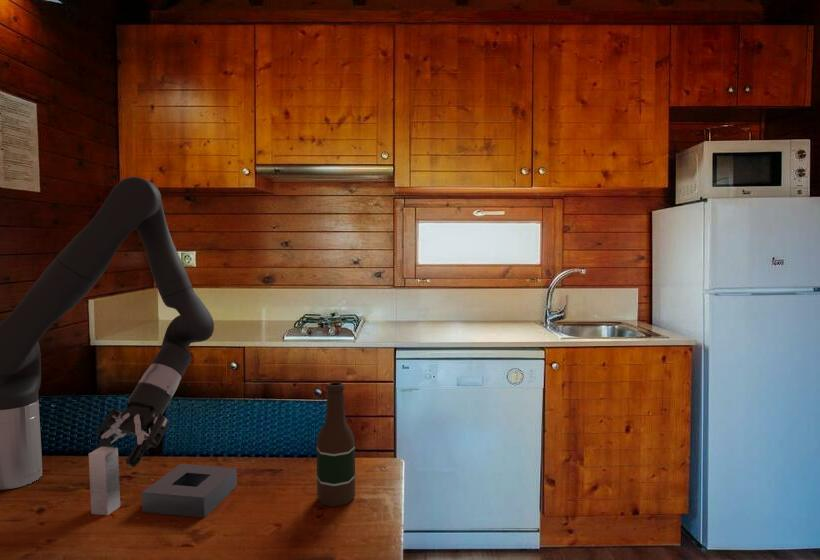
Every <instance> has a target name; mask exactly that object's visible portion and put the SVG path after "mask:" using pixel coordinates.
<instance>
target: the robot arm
mask: <svg viewBox="0 0 820 560" xmlns="http://www.w3.org/2000/svg"><path fill="white" fill-rule="evenodd" d="M134 230H136V232H137V234H138V236H139V237H140V240H141V242H142V245H143V248H144V251H145V253H146V254H145V255H146V257H147V261H148V264H149V265H148V266H149V268H150V272H151V275H152V278H153V281H154V283H155V285H156V286H155V287H156V288H157V291H158V293H159V295H160V298H161V300H162V302H163V303H164V305H165V306H166V307H167V308H169V309H170V308H171V309H174V310H175V311H176V312H177V313H178V315H177V316H175V317H174V318H173V319H172V320H171V321H170V323H169V324H168V326H167V327H166V330H165V333H164V337H163V339H162V342H161V347H160V350H159V351H158V353H157V354H156V356H155V357H154V358H153V361H152V362H151V364H150V365H149V367H148V368H147V369H146V371H145V372H144V373H143V374H142V377H141V379H139V381H138V383H137V385H136V386H135V387H134V389H133V391H132V393H131V394H130V396H129V397H128V399H127V407H126V408H125V409H124V411H120V410H118V409H116V408H112V409H111V411H109V413H108V415H107V416H106V418H105V419H104V421H103V422H102V424H101V425H100V426H99V427H98V429H97V431H96V433H95V434H96V435H97V436H98V437H100V441H99V442H98V445H96V447H95V449H94V450H96V449H98V448H100V447H112V445H113V443H114V442H115V441H117V440H118V439H119V438H124V437H125V436H126V435H128V436H132V435H133V436H135V437H136V439H137V440H136V443H137V444H135V445H134V446H133V448H132V450H131V451H130V453H129V455H128V457H127V459H126V460H125V464H126V466H127V465H128V467H131V468H135V467H136V466H137V465H138V464H139V463H140V461H141V459H142V458H143V456H144V454H145V453H146V450H149V449H150V448H154V449H155V448H157V447H159V445H160V443H161V441H162V438H163V437H164V435H165V433H166V430H167V428H168V426H169V424H170V420H169V419H167V417H165V416H164V415H163V414H164V413H165V411H166V409H167V407H168V405H169V404H170V402H171V399H172V398H173V396H174V395H175V393H176V391H177V389H178V387H179V385H180V382H181V380H182V378H183V376H184V374H185V373H186V370H187V368H188V367H189V365H190V363H191V360H192V355H191V352H190V351H189V350H188V348H189V347H190V345H191V344H193V343H202V342H205V341H207V340H209V339H210V338H211V337H212V336H213V333H214V332H215V331H214V330H215V325H214V323H215V322H214V319H213V316H212V314H211V312H210V311H209V309H208V308H207V307H206V305H205V303H204V302H203V301H202V300H201V298H200V297H199V296H198V295H197V293H196V292H195V290H194V288H193V285H192V283H191V280H190V278H189V276H188V273H187V271H186V268H185V266H184V263H183V262H182V259H181V257H180V254H179V253H178V251H177V248H176V246H175V243H174V241H173V239H172V236H171V233H170V230H169V227H168V222H167V220H166V216H165V211H164V207H163V201H162V194H161V192H160V189H159V188H158V187H157V185H155V184H154V183H153V182H152V181H150V180H148V179H145V178H144V177H138V176H131V177H130V176H129V177H125V178H123V179H121V180H120V181H118V183H116V184H115V185H114V186H113V188H112V190H111V191H110V193H109V194H108V195H107V198H106V199H105V201H104V202H103V204H101V206H100V208H99V209H98V211H97V212H96V214H94V216H93V218H92V219H91V220H90V221H89V222H88V224H87V225H86V226H84V227H83V228H82V229H81V231H79V232H78V233H77V234H76V235H75V236H74V237H73V238H72V240H70V242H68V244H67V245H66V246H64V248H63V249H62V250H60V252H59V253H58V254H57V255H56V256H55V258H54V259H53V260H52V261H51V262H50V263H49V264H48V266H47V267H46V268H45V269H44V271H43V272H42V274H41V275H40V276H39V277H38V278H37V280H36V281H35V282H34V283H33V284H32V286H31V287H30V288H29V289H28V291H27V292H26V293H25V294H24V297H23V298H22V299H21V301H20V302H19V303H18V304H17V305H16V307H15V308H14V309H13V310H12V312H10V314H9V315H7V317H6V318H5V319H3V320H2V322H0V490H11V489H17V488H21V487H25V486H27V484H28V485H30V484H33V483H35V482H37V481H38V480H39V478H40V477H41V476H43V474H42V473H43V459H42V458H43V456H42V441H41V440H42V439H41V438H42V437H41V436H42V435H41V424H40V423H41V421H40V420H41V419H40V404H39V402H40V401H39V390H40V388H41V382H42V365H41V364H42V363H41V361H42V359H41V358H42V357H41V356H42V355H41V354H42V353H41V347H40V343H39V341H40V339H42V337H43V336H44V335H45V333H46V332H47V331H48V330H49V329H50V328H51V327H52V326H53V325H54V324H55V323H56V322H58V321H59V320H60V319H61V318H62V317H64V316H65V315H66V314H67V313H68V312H70V311H71V310H72V309H73V308H74V307H75V306H77V304H78V303H80V302H81V300H82V299H84V298H85V297H86V296H87V295H88V293H89V292H90V291H91V290H92V288H94V286H95V285H96V284H97V283H98V282H99V280H100V279H101V277H102V276H103V275H104V273H105V272H106V270H107V268H108V267H109V265H110V264H111V262H112V260H113V259H114V257H115V255H116V253H117V252H118V249H119V248H120V246H121V244H122V243H123V242H124V241H125V240H126V238H128V237H129V235H130V234H131V233H132V232H133V231H134ZM105 430H106V431H105ZM41 478H42V477H41ZM41 478H40V479H41ZM36 480H37V481H36ZM34 481H35V482H34ZM32 482H33V483H32Z"/></svg>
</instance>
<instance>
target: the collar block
mask: <svg viewBox="0 0 820 560" xmlns="http://www.w3.org/2000/svg"><path fill="white" fill-rule="evenodd" d="M237 473H238V472H237V468H236V467H225V466H213V465H212V466H211V465H201V464H189V463H188V464H186V463H180V464H178V465H176V467H174V468H173V469H171V470H169V472H167V473H166V474H165V475H163V476H162V477H160V478H159V479H158V480H156V481H155V482H153V483H152V484H151V485H149V486H148V487H147V488H145V489H144V490H143V491H141V506H142V512H143V513H149V514H150V513H151V514H152V513H153V514H159V515H160V514H161V515H170V516H171V515H173V516H182V517H183V516H184V517H193V518H206V517H207V516H208V515H209V514H210V513H211V512H212V511H214V509H216V507H217V506H219V504H220V503H222V501H223V500H225V498H227V497H228V495H230V494H231V491H232V490H233V489H234V488H235V487H236V486H237V487H238V475H237ZM237 487H236V488H237ZM236 488H235V489H236ZM233 491H234V490H233Z"/></svg>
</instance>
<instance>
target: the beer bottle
mask: <svg viewBox="0 0 820 560" xmlns="http://www.w3.org/2000/svg"><path fill="white" fill-rule="evenodd" d="M325 389H326V393H327V394H326V412H325V413H326V415H325V420H324V424H323V425H322V426H321V428H320V430H318V431H319V432H318V435H317V437H316V494H317V499H318V501H319V502H320V503H321V505H323V506H325V507H326V506H327V507H331V508H336V507H341V506H347V505H349V504H350V502H352V500H353V499H354V498H355V496H356V442H355V436H354V433H353V430H352V429H351V427H350V426H349V425H348V423H347V419H346V412H345V397H344V390H346V388H345V384H343V383H342V382H340V381H334V382H333V381H332V382H330V383H328V384H326V388H325ZM346 504H347V505H346Z"/></svg>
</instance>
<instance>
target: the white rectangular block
mask: <svg viewBox="0 0 820 560" xmlns="http://www.w3.org/2000/svg"><path fill="white" fill-rule="evenodd" d="M95 449H96V448H95ZM95 449H94V450H93V451H91V452H88V467H89V468H88V469H89V491H90V492H89V493H90V509H91V511H90V512H91V515H101V516H109V515H110V514H112V513H113V512H114V511H116V510H117V509H118V508H120V507H121V495H120V493H121V490H120V489H121V488H120V470H119V469H120V468H119V447H113V446H111V447H100V448H98V449H96V450H95Z"/></svg>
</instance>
